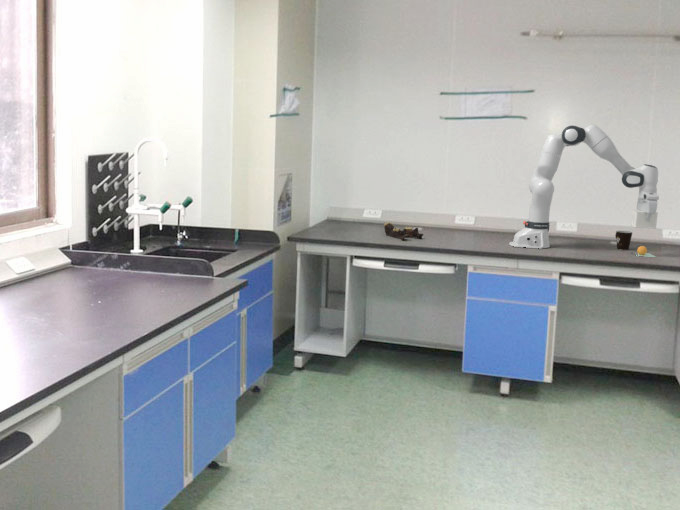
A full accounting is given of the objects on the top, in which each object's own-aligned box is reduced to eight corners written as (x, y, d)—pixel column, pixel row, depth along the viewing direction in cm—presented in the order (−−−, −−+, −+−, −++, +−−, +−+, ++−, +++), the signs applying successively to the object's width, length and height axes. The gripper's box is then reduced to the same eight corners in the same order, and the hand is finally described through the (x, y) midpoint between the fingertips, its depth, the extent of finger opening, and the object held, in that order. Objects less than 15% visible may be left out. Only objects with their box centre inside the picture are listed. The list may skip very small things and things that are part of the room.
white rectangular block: (635, 227, 425) (637, 211, 424) (631, 226, 432) (632, 210, 431) (655, 228, 425) (657, 212, 424) (651, 226, 432) (652, 211, 430)
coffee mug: (631, 250, 445) (633, 233, 443) (615, 249, 446) (617, 232, 445) (628, 247, 456) (630, 230, 454) (613, 246, 458) (614, 229, 456)
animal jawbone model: (402, 238, 483) (406, 222, 482) (425, 247, 462) (429, 230, 461) (379, 233, 474) (383, 217, 473) (401, 243, 454) (405, 226, 452)
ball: (650, 249, 428) (645, 257, 429) (646, 248, 433) (641, 255, 434) (642, 245, 428) (637, 253, 429) (639, 243, 433) (634, 251, 434)
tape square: (637, 256, 426) (637, 256, 426) (631, 253, 436) (631, 252, 436) (655, 257, 426) (655, 256, 426) (649, 253, 436) (649, 253, 436)
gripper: (635, 192, 436) (632, 217, 438) (648, 196, 416) (645, 222, 418) (646, 193, 436) (644, 218, 438) (660, 197, 416) (657, 223, 418)
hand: (644, 220), depth 428 cm, fingers closed on white rectangular block, 7 cm apart
